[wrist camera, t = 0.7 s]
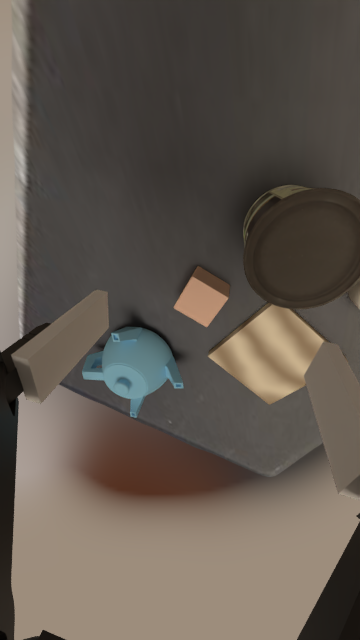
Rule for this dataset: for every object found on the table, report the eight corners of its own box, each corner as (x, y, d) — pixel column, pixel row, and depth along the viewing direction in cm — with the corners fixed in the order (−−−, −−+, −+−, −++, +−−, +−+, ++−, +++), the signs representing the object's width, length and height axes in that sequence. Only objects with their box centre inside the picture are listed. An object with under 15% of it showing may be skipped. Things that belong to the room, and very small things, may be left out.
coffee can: (256, 275, 36) (263, 322, 24) (232, 208, 32) (226, 225, 21) (333, 247, 32) (386, 288, 20) (315, 167, 28) (367, 158, 16)
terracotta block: (197, 265, 38) (192, 276, 33) (230, 284, 38) (228, 297, 34) (180, 294, 41) (173, 307, 37) (210, 312, 41) (206, 327, 37)
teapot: (136, 303, 44) (109, 335, 35) (194, 355, 47) (183, 398, 38) (96, 345, 51) (65, 381, 42) (148, 387, 54) (129, 429, 45)
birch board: (277, 295, 37) (278, 299, 36) (344, 356, 40) (348, 362, 38) (208, 351, 45) (207, 356, 44) (268, 398, 48) (269, 404, 47)
